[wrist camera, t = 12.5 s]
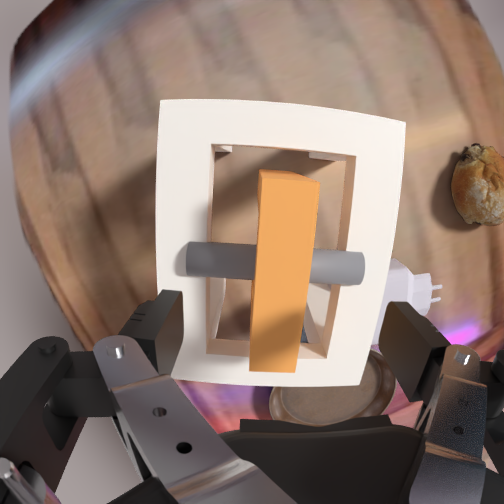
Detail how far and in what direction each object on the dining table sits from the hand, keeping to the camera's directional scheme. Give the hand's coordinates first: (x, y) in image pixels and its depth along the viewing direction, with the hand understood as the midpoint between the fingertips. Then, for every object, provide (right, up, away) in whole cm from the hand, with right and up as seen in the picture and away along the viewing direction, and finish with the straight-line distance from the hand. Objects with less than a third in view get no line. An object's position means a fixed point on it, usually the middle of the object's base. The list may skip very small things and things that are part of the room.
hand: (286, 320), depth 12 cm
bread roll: (+27, +11, +20) cm, 36 cm away
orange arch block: (0, +4, +13) cm, 14 cm away
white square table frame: (0, +6, +22) cm, 23 cm away
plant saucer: (+10, -16, +29) cm, 34 cm away
